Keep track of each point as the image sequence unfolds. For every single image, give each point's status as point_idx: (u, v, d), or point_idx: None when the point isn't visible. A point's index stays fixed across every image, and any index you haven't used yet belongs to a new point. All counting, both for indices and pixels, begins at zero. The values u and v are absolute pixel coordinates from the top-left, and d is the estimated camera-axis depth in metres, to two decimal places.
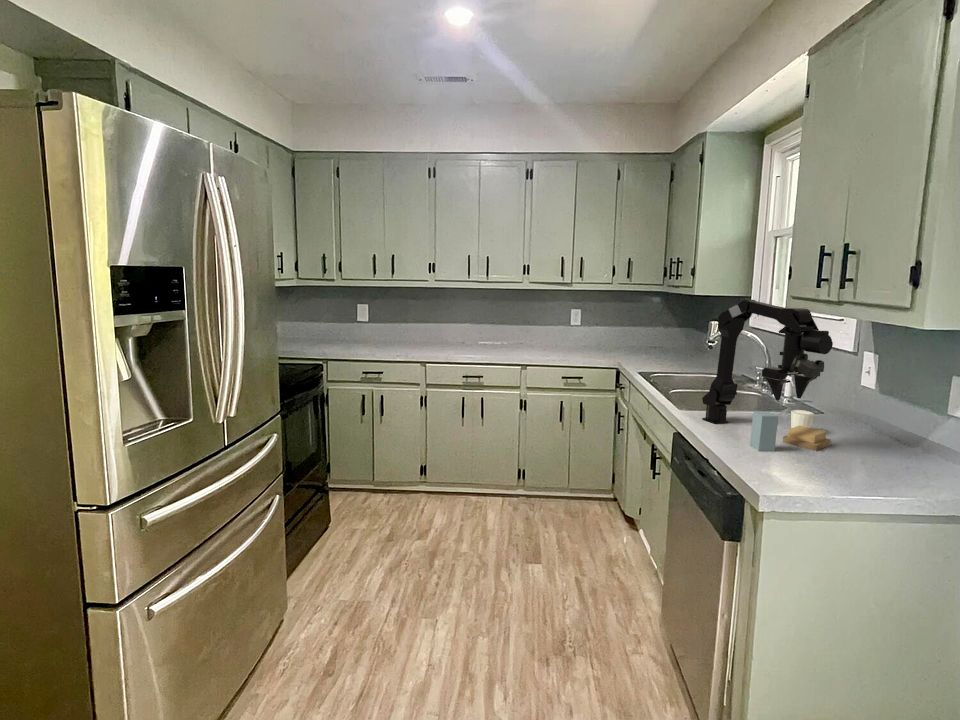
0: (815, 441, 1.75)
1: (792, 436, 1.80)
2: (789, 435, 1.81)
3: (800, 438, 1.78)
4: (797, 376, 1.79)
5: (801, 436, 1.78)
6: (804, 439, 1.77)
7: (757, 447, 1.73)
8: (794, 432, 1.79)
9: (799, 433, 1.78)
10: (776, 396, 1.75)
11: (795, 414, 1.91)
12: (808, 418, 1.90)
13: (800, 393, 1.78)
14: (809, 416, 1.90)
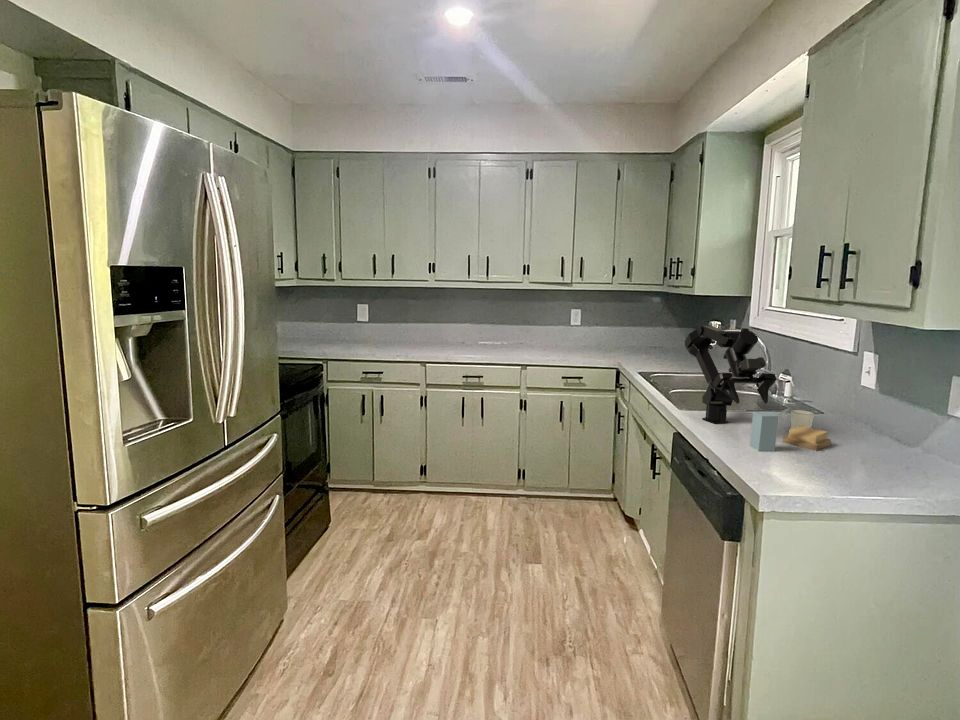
0: (816, 441, 1.75)
1: (793, 436, 1.80)
2: (790, 435, 1.80)
3: (801, 438, 1.78)
4: (759, 388, 1.86)
5: (802, 437, 1.78)
6: (805, 439, 1.77)
7: (757, 447, 1.73)
8: (795, 432, 1.79)
9: (800, 433, 1.78)
10: (735, 399, 1.81)
11: (795, 414, 1.91)
12: (808, 418, 1.90)
13: (765, 397, 1.81)
14: (809, 416, 1.90)
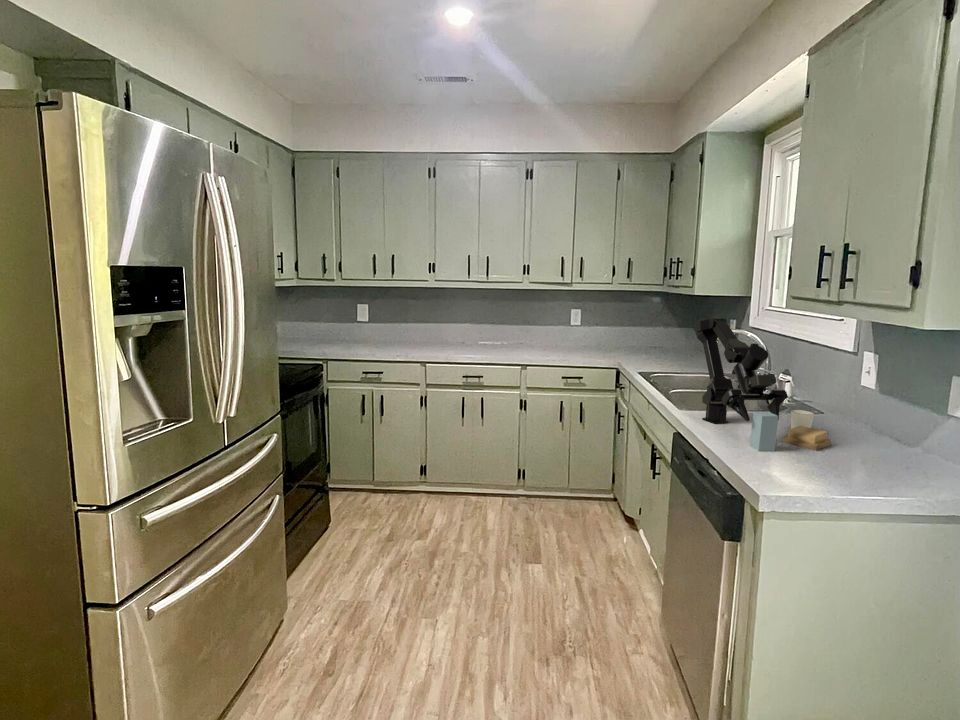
0: (815, 441, 1.75)
1: (792, 436, 1.80)
2: (789, 435, 1.80)
3: (800, 438, 1.78)
4: (769, 405, 1.80)
5: (801, 437, 1.78)
6: (804, 439, 1.77)
7: (757, 447, 1.73)
8: (794, 432, 1.79)
9: (799, 433, 1.78)
10: (745, 417, 1.75)
11: (795, 414, 1.91)
12: (808, 418, 1.90)
13: None
14: (809, 416, 1.90)
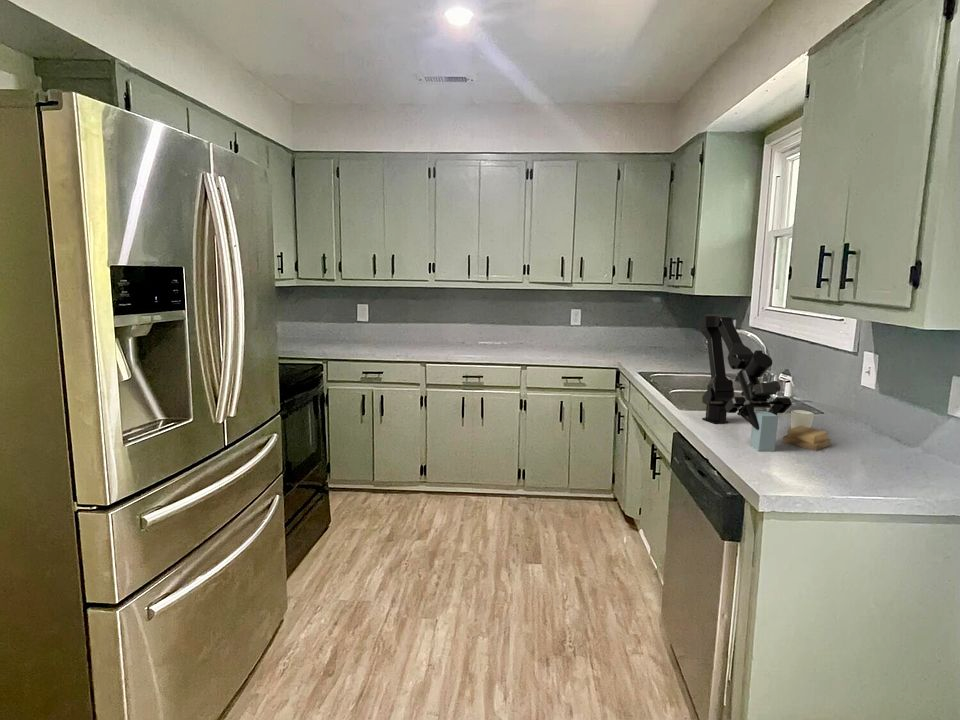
0: (814, 441, 1.75)
1: (792, 436, 1.80)
2: (789, 435, 1.81)
3: (800, 438, 1.78)
4: None
5: (800, 437, 1.78)
6: (804, 439, 1.77)
7: (757, 447, 1.73)
8: (794, 432, 1.79)
9: (799, 433, 1.78)
10: (755, 425, 1.73)
11: (795, 414, 1.91)
12: (808, 418, 1.90)
13: None
14: (809, 416, 1.90)
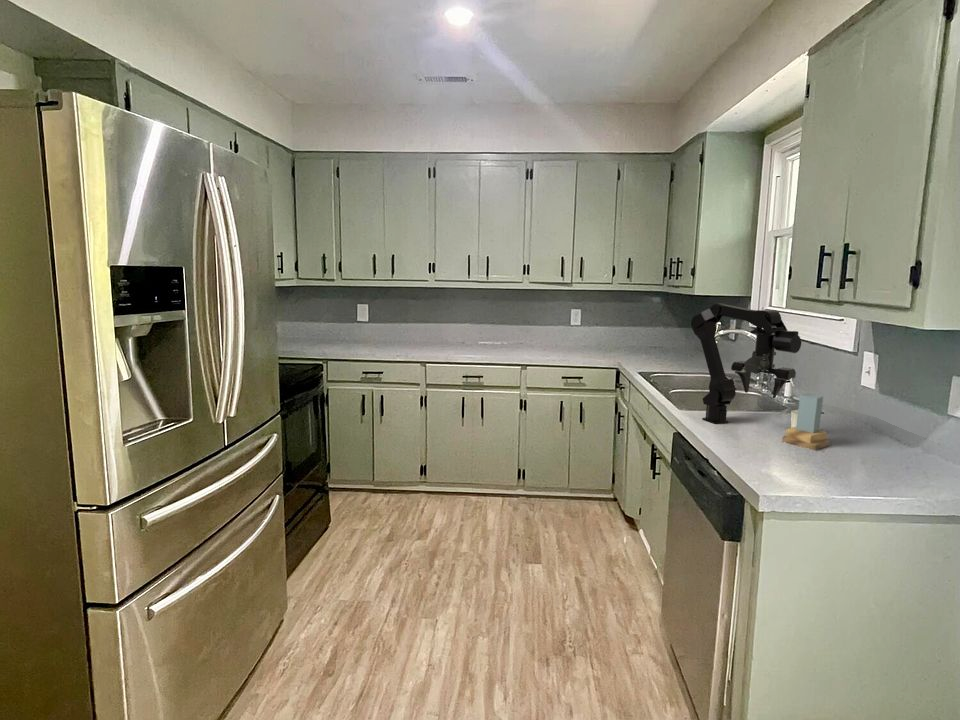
0: (811, 441, 1.76)
1: (790, 435, 1.81)
2: (787, 434, 1.82)
3: (797, 438, 1.79)
4: None
5: (798, 436, 1.79)
6: (801, 439, 1.78)
7: (810, 429, 1.78)
8: (792, 432, 1.80)
9: (796, 433, 1.79)
10: None
11: (795, 414, 1.91)
12: None
13: None
14: None
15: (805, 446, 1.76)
